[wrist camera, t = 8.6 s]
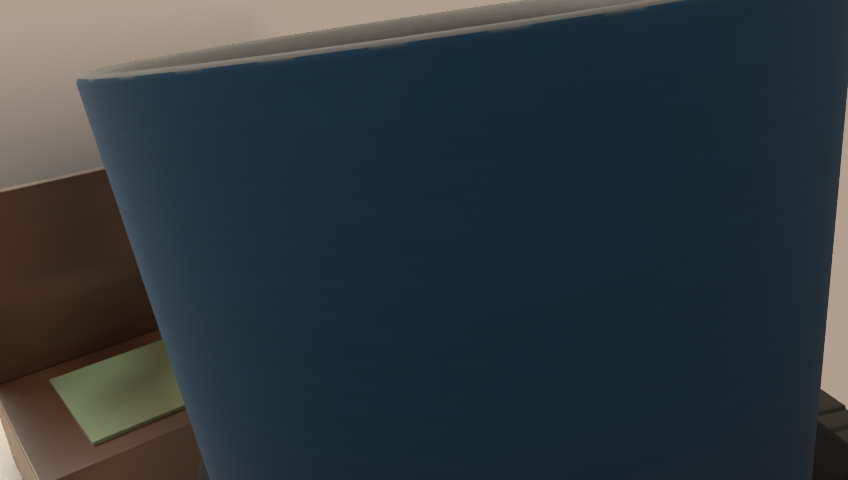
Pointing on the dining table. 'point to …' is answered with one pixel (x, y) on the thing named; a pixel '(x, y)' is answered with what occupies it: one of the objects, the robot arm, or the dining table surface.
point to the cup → (493, 239)
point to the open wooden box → (83, 342)
